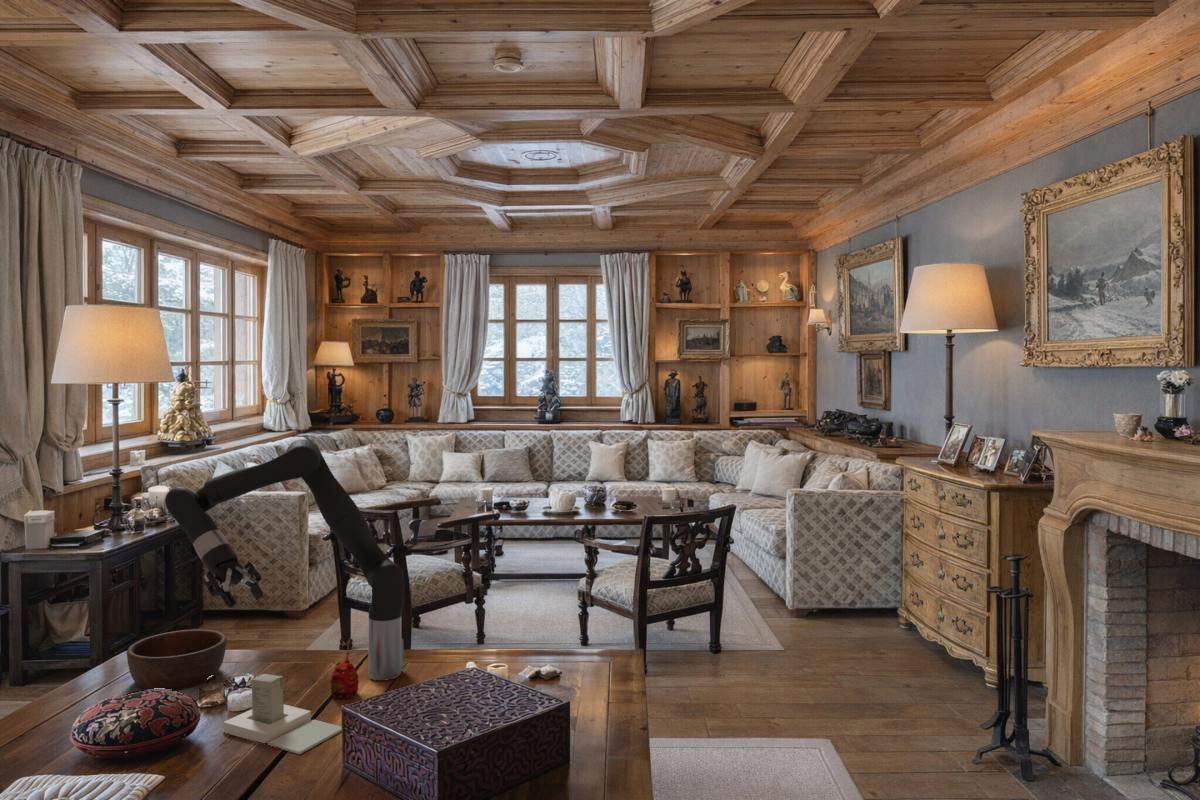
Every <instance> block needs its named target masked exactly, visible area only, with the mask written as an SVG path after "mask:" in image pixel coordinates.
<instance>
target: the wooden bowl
mask: <svg viewBox="0 0 1200 800" xmlns="http://www.w3.org/2000/svg"><path fill="white" fill-rule="evenodd" d="M227 640H228V639H227V636H226V635H225V634H224V633H223V632H220V631H218V630H217V631H216V630H213V629H199V628H198V629H183V630H182V629H181V630H176V631H175V630H174V631H169V632H164V633H158V634H155V635H152V636H148V637H145V638H142V639H140V640H138V641H135V642H134V643H132V644H131V645H130V646H129V647H128V648H127V649H126V659H127V666H128V670H129V673H130V676H131V678H132V679H133V681H134V682H133V683H135V684H136V685H137V686H138V687H139V688H142V689H143V690H146V689H154V688H165V689H172V690H171V691H176V690H182V689H186V688H192V687H195V686H198V685H200V684H204V683H205V681H206V680H207V678H208V677H209V676H211V675H215V676H216V675H217V674H218V672H219V670H220V669H221V667H222V665H223V662H224V658H225V654H226V647H227ZM206 682H207V681H206Z"/></svg>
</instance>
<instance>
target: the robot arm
mask: <svg viewBox="0 0 1200 800" xmlns="http://www.w3.org/2000/svg"><path fill="white" fill-rule="evenodd" d="M295 479H302V480H303V482H304V483H305V484H306V485H307V487H308V488H309V490H310V491H311V493H312V495H313V498H314V500H315V503H316V506H317V507H318V510H319V512H320V514H321V516H322V517H323V520H324V521H325V523H326V524H327V526H328V528H329V529H330V531H331V532H332V533H333V534H334V535H335V537H336V538H337V539H338V541H339V542H340V543H341V545H342V546H343V547H345V548H346V550H347V551H348V552H349V553H350V554H351V556H352V557H353V558H354V560H355V561H356V562H357V565H358V567H359V568H360V570H361V572H362V574H363V576H364V578H365V580H366V581H367V583H368V585H369V586H370V588H371V605H370V607H369V608H368V652H367V653H368V654H367V655H368V660H367V661H368V663H367V669H368V670H367V672H368V676H367V677H368V679H370V680H372V679H373V680H372V681H376V680H385V679H391V678H394V677H397V676H398V675H400V674H401V675H402V673H401V671H403V672H404V639H403V638H402V617H403V616H402V615H403V614H402V610H403V607H404V605H405V603H404V602H405V600H404V599H405V574H404V571H403V569H402V568H401V566H399V565H398V564H396V563H395V562H393V560H391V559H390V558H389V557H388V556H387V554H386V553H385V552H384V551H383V550H382V549H381V547H380V546H379V545H378V543H377V541H376V539H375V538H374V536H373V534H372V531H371V528H370V526H369V524H368V522H367V520H366V517H364V514H363V513H362V512H361V510H360V509H359V507H358V506H357V504H356V503H355V501H354V500H353V499H352V497H351V496H350V495H349V493H348V492H347V490H346V489H345V488H344V487H343V486H342V485H341V484H340V482H339V481H338V480H337V478H336V477H335V476H334V474H333V473H332V471H331V469H330V467H329V466H328V463H327V461H326V460H325V458H324V456H323V454H322V452H321V450H320V448H319V447H318V446H317V444H315V443H314V442H313V441H311V440H309V439H304V438H302V439H301V438H299V439H296V440H294V441H292V442H291V443H290V444H289V446H288V447H287V449H286V450H285V452H284V453H282V454H281V455H278V456H277V457H275V458H273V459H271V460H268V461H265V462H263V463H260V464H257V465H252V466H248V467H247V466H246V467H243V468H238V469H235V470H232V471H229V472H226V473H223V474H220V475H217V476H215V477H213V478H209V479H208V480H206V481H205V482H204V484H203V487H201V488H199V489H197V490H194V491H193V490H191V489H189V488H187V487H185V486H177V487H173V488H171V489H170V490H169V491H168V492H167V494H166V495H165V499H164V503H165V507H166V509H167V511H168V513H169V514H170V515H171V516H172V518H173V519H174V520H175V522H177V523H178V525H179V526H180V527H181V529H182V530H183V531H184V533H185V535H186V537H188V539H189V541H190V543H191V544H192V546H193V548H194V551H195V552H196V554H197V556H198V557H199V559H200V560H201V562H202V564H203V566H204V567H205V568H206V571H207V572H206V574H204V575H203V577H202V581H203V583H204V585H205V587H206V589H207V590H208V592H209V594H210V595H211V597H216V596H217V597H219V598H221V600H223V602H224V604H225V605H226V606H227V607H228V608H229V609H232V608H234V607H235V606H236V605H237V600H236V599H235V597H234V596H233V595H232V592H231V591H230V590H229V587H231V586H232V585H240V586H245V587H247V588H248V589H249V591H250V592H251V594H252V595H253V597H254V599H255V600H256V601H259V600H261V598H263V597H264V592H263V590H262V589H261V587H260V585H259V582H260V581H261V580H263V578H262V577H263V576H261V575H260V573H259V572H258V571H257V569H256V568H255V567H254V565H253V562H251V561H248V562H247V563H246V564H244V565H243V564H241V563H239V559H238V558H239V557H238V554H236V552H235V550H234V549H233V547H232V546H231V544H230V543H229V541H228V539H227V537H226V536H225V535H224V533H222V531H221V530H220V529H219V527H218V526H217V524H216V523H215V521H214V519H212V517H211V516H209V514H208V513H207V511H210V510H211V509H212V508H215V507H216V506H217V505H220V504H223V503H225V502H227V501H230V500H233V499H236V498H239V497H240V496H243V495H245V494H248V493H252V492H253V491H256V490H259V489H261V488H265V487H268V486H271V485H274V484H278V483H282V482H286V481H291V480H295ZM243 578H244V579H243ZM401 675H400V676H401ZM397 678H398V677H397Z"/></svg>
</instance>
